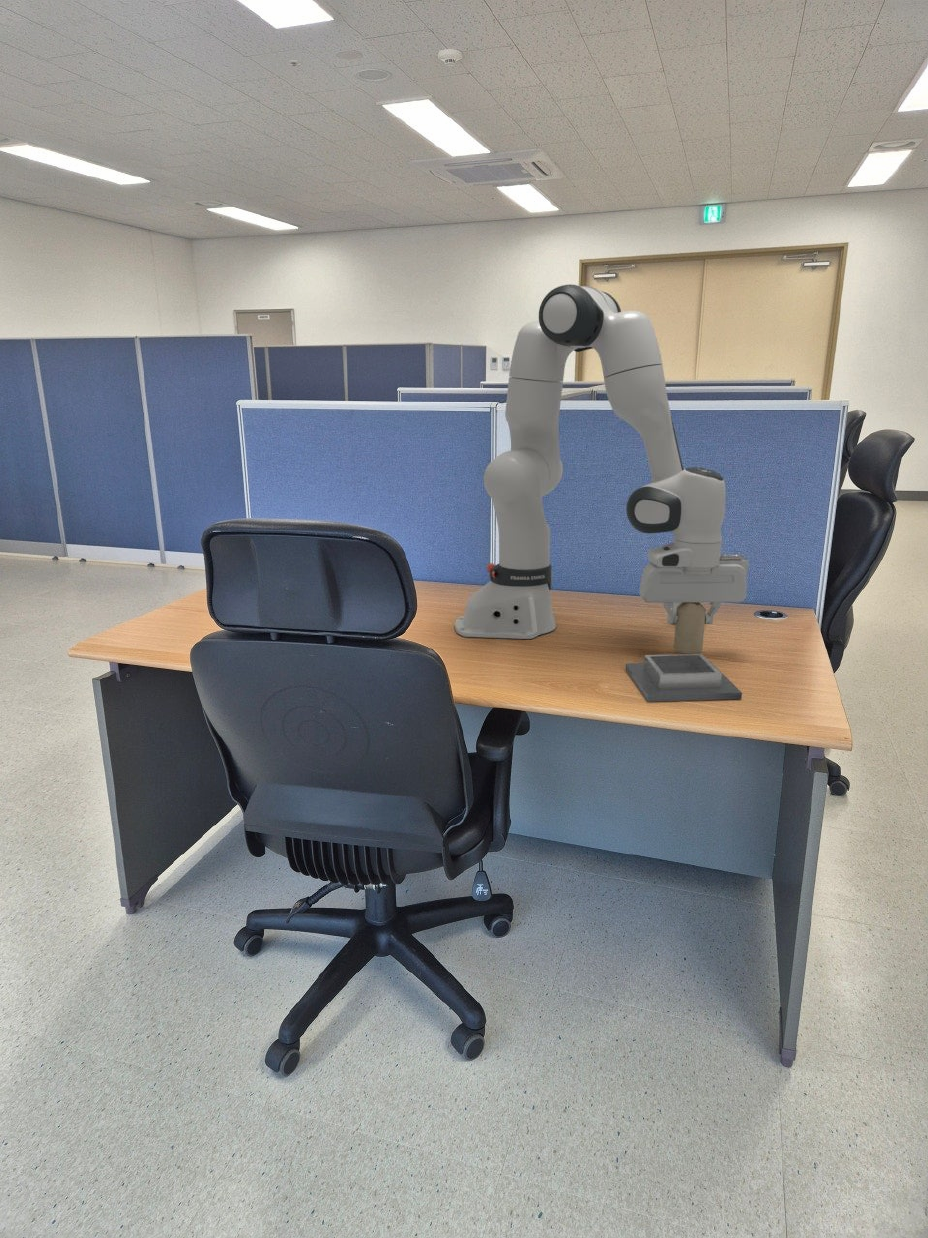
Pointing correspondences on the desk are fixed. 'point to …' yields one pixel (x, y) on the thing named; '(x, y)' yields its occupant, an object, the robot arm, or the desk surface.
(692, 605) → the candle
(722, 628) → the desk surface
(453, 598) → the desk surface
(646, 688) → the candle stand
